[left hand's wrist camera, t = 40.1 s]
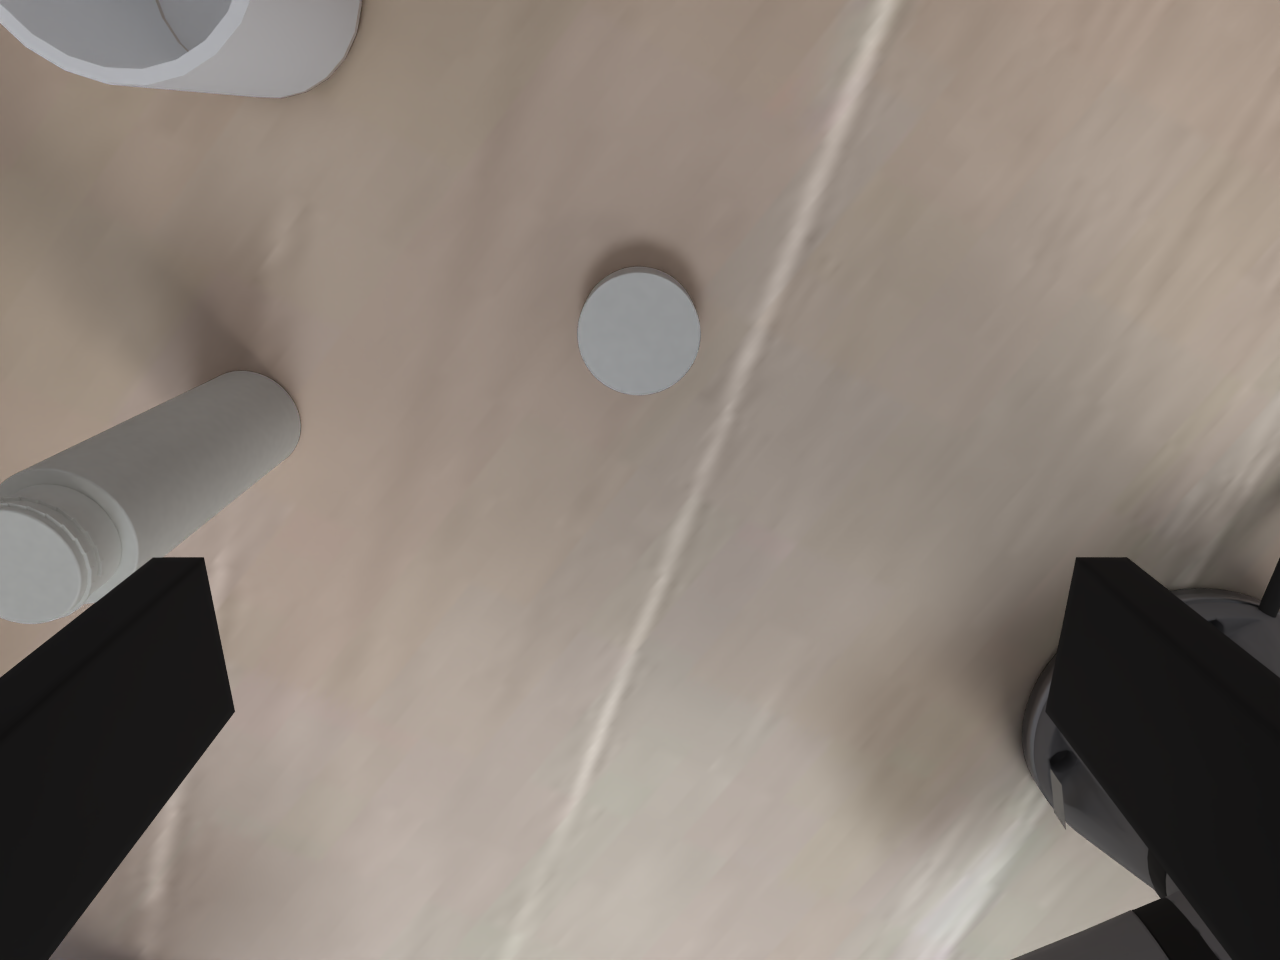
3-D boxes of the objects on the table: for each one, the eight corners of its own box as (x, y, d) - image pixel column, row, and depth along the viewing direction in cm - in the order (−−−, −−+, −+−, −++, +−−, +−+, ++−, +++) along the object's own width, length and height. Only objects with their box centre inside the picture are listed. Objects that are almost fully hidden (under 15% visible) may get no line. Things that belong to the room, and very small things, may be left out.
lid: (564, 287, 36) (560, 294, 34) (678, 250, 36) (680, 255, 34) (602, 396, 38) (599, 410, 36) (710, 363, 38) (715, 375, 35)
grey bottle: (315, 398, 38) (115, 536, 24) (282, 483, 40) (75, 662, 25) (216, 352, 37) (-52, 466, 23) (186, 440, 39) (-84, 599, 24)
